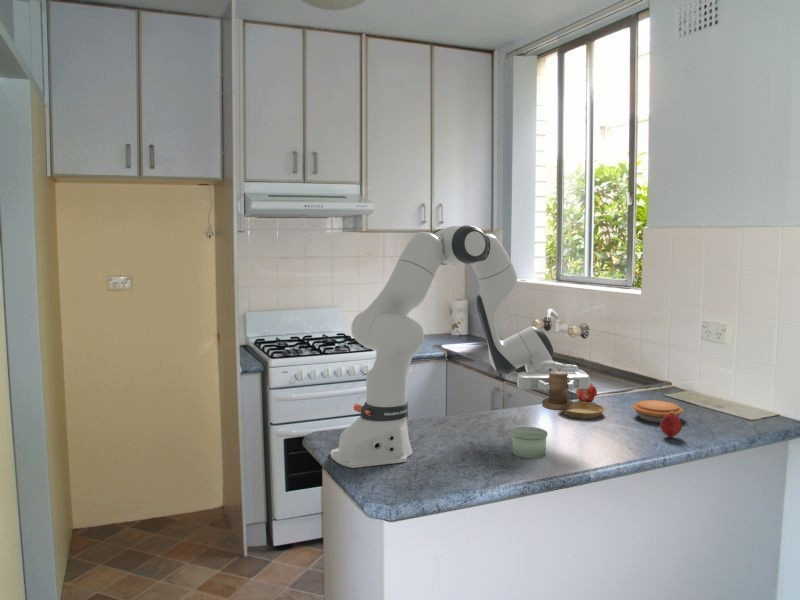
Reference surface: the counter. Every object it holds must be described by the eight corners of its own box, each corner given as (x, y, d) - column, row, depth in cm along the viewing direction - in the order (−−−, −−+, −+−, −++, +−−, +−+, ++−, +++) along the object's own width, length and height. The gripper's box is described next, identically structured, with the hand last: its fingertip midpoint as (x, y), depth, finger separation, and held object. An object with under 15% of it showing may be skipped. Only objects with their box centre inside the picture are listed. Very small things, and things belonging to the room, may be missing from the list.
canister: (527, 461, 179) (527, 439, 179) (504, 451, 188) (504, 430, 187) (554, 455, 184) (554, 433, 184) (530, 445, 193) (531, 425, 192)
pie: (674, 412, 228) (675, 398, 228) (689, 426, 213) (690, 410, 212) (627, 411, 230) (628, 397, 229) (639, 424, 214) (639, 409, 214)
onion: (668, 441, 197) (669, 414, 196) (655, 435, 202) (656, 409, 202) (685, 439, 198) (686, 413, 198) (672, 434, 204) (673, 408, 203)
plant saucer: (572, 406, 236) (572, 399, 236) (612, 414, 226) (612, 406, 226) (550, 414, 226) (550, 407, 225) (591, 423, 216) (591, 415, 215)
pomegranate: (581, 404, 247) (566, 390, 243) (593, 388, 248) (577, 374, 243) (595, 411, 241) (580, 397, 236) (607, 394, 241) (591, 380, 237)
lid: (557, 412, 180) (557, 378, 179) (535, 404, 187) (536, 372, 186) (580, 407, 184) (580, 374, 183) (558, 400, 191) (558, 368, 190)
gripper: (512, 365, 197) (521, 376, 183) (582, 365, 197) (596, 375, 184) (512, 386, 198) (520, 399, 184) (581, 386, 198) (595, 398, 184)
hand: (559, 387), depth 184 cm, fingers closed on lid, 5 cm apart
